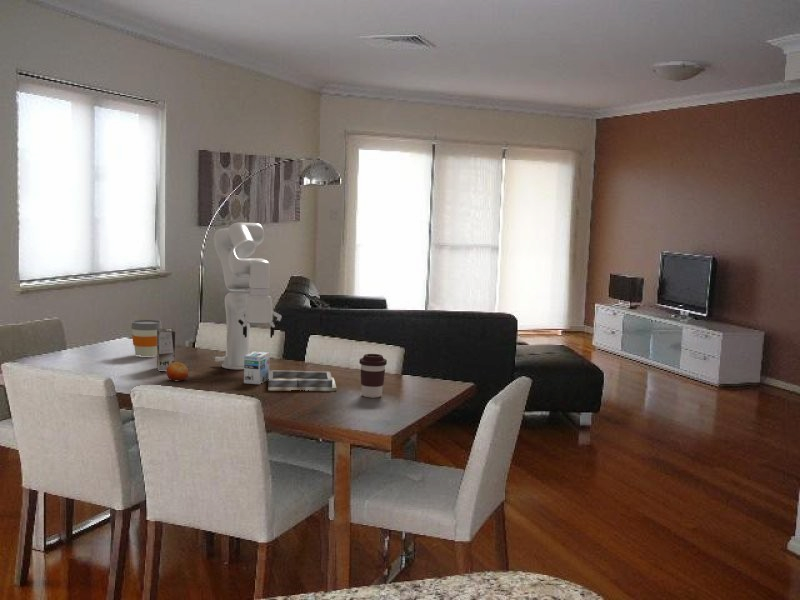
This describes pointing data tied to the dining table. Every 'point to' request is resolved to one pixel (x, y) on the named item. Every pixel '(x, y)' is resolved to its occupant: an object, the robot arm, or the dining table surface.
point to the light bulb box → (256, 367)
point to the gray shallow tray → (301, 380)
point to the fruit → (177, 371)
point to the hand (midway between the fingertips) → (258, 337)
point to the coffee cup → (372, 374)
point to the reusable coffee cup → (145, 336)
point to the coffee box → (165, 348)
